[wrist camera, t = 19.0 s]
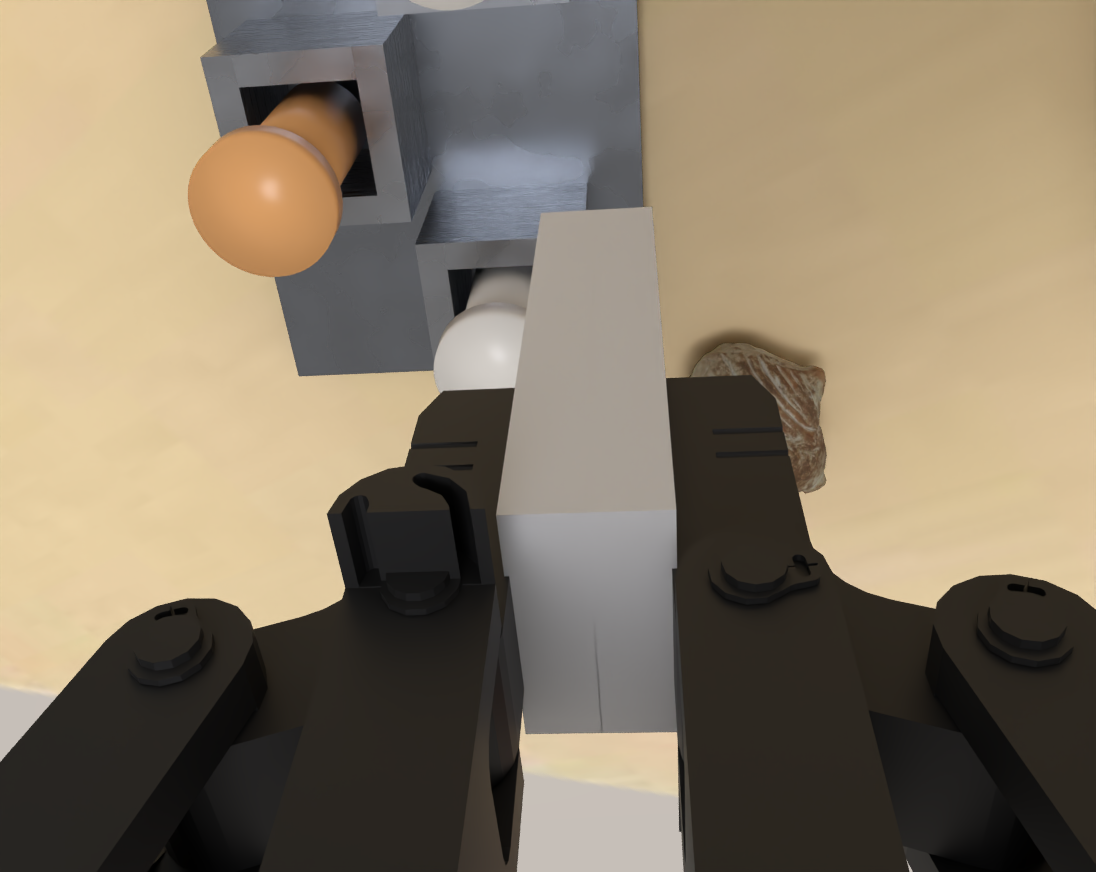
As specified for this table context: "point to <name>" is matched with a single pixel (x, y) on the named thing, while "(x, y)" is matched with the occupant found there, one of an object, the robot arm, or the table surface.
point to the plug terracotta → (279, 182)
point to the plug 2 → (485, 333)
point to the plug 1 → (446, 4)
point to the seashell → (781, 402)
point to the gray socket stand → (436, 149)
